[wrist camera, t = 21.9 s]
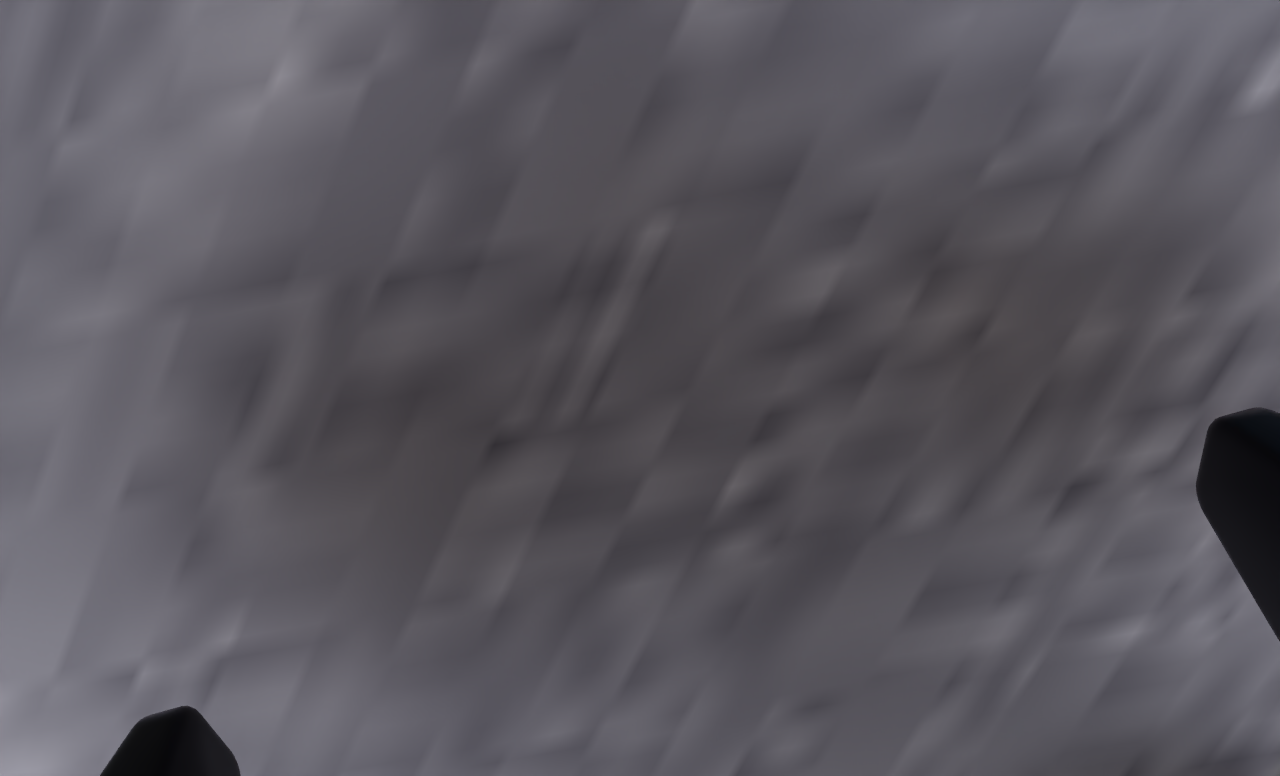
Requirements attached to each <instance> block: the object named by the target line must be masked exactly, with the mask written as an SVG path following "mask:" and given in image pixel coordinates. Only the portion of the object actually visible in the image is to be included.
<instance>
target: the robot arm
mask: <svg viewBox="0 0 1280 776" xmlns="http://www.w3.org/2000/svg"><path fill="white" fill-rule="evenodd" d="M1196 491H1197V497H1198V501H1199V503H1200V506H1201V508H1202V510H1203V512H1204V514H1205V516H1206V518H1207V519H1208V521H1209V523H1210V524H1211V526H1212V528H1213V529H1214V531H1215V533H1216V535H1217V536H1218V538H1219V540H1220V541H1221V543H1222V545H1223V546H1224V548H1225V550H1226V552H1227V553H1228V555H1229V557H1230V558H1231V560H1232V562H1233V563H1234V565H1235V567H1236V569H1237V570H1238V572H1239V574H1240V575H1241V577H1242V579H1243V580H1244V582H1245V584H1246V586H1247V587H1248V589H1249V591H1250V592H1251V594H1252V596H1253V597H1254V599H1255V601H1256V603H1257V604H1258V606H1259V608H1260V609H1261V611H1262V613H1263V614H1264V616H1265V618H1266V620H1267V621H1268V623H1269V625H1270V626H1271V628H1272V630H1273V631H1274V633H1275V635H1276V636H1277V638H1278V639H1279V641H1280V413H1278V412H1275V411H1272V410H1269V409H1266V408H1251V409H1247V410H1243V411H1240V412H1236V413H1232V414H1229V415H1225V416H1222V417H1219V418H1217V419H1215V420H1214V421H1213V422H1212V423H1211V425H1210V426H1209V428H1208V431H1207V435H1206V439H1205V444H1204V449H1203V453H1202V458H1201V462H1200V467H1199V471H1198V476H1197V481H1196ZM100 776H240V770H239V767H238V764H237V761H236V759H235V757H234V755H233V754H232V752H231V751H230V749H229V748H228V747H227V746H226V745H225V743H224V742H223V741H222V740H221V738H220V737H219V736H218V735H217V733H216V732H215V731H214V730H213V729H212V727H211V726H210V725H209V724H208V722H207V721H206V720H205V719H204V717H203V716H202V715H201V714H200V713H199V712H198V711H197V710H196V709H194V708H192V707H189V706H181V707H177V708H174V709H170V710H166V711H163V712H159V713H156V714H152V715H149V716H147V717H144V718H143V719H141V720H140V721H139V722H138V723H137V724H136V725H135V726H134V727H133V728H132V729H131V731H130V732H129V734H128V735H127V737H126V738H125V740H124V741H123V743H122V744H121V745H120V747H119V748H118V750H117V751H116V753H115V754H114V756H113V757H112V759H111V760H110V761H109V763H108V764H107V766H106V767H105V769H104V770H103V772H102V773H101V775H100Z"/></svg>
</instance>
